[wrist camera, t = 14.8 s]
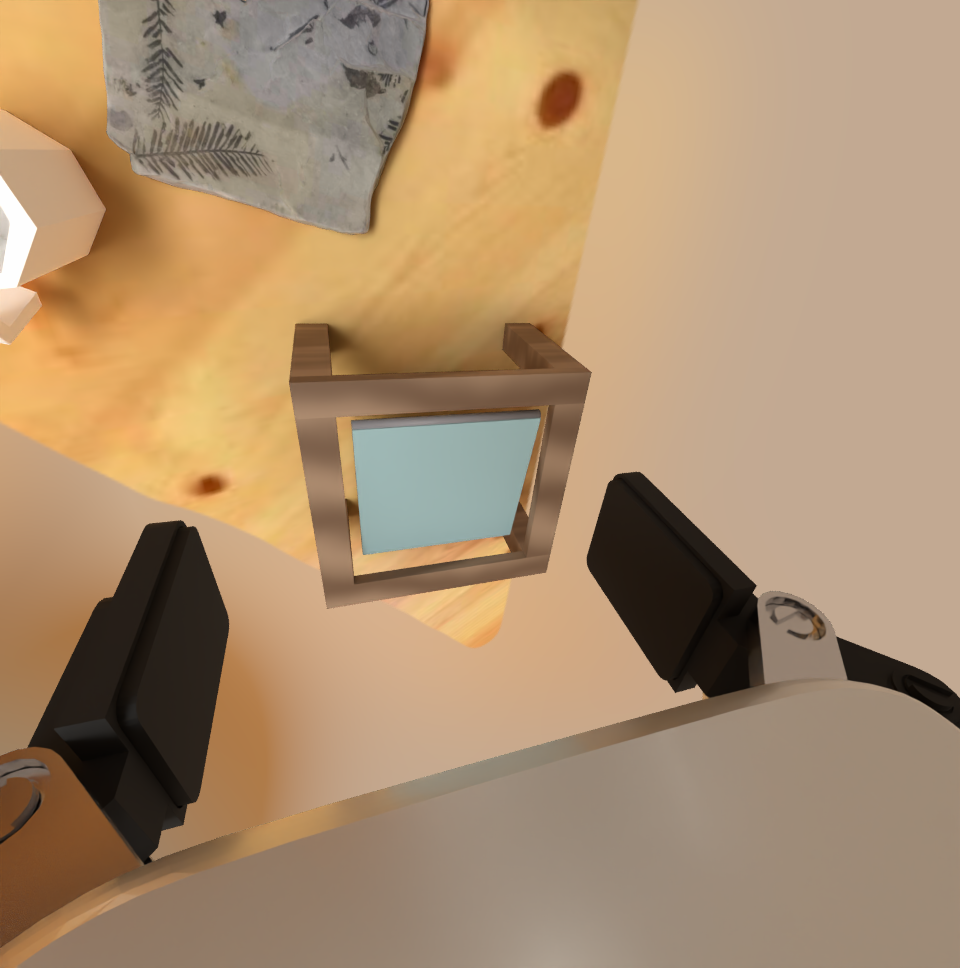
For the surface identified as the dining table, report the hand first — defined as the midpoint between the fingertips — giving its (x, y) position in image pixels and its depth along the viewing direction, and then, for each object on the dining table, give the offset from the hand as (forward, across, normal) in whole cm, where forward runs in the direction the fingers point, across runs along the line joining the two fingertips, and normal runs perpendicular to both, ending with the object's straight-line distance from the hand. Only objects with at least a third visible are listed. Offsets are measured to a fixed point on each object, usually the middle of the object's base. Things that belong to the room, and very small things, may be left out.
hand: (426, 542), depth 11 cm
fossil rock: (+34, +4, -10) cm, 36 cm away
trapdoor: (+23, -6, +15) cm, 28 cm away
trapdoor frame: (+33, -6, +15) cm, 37 cm away
